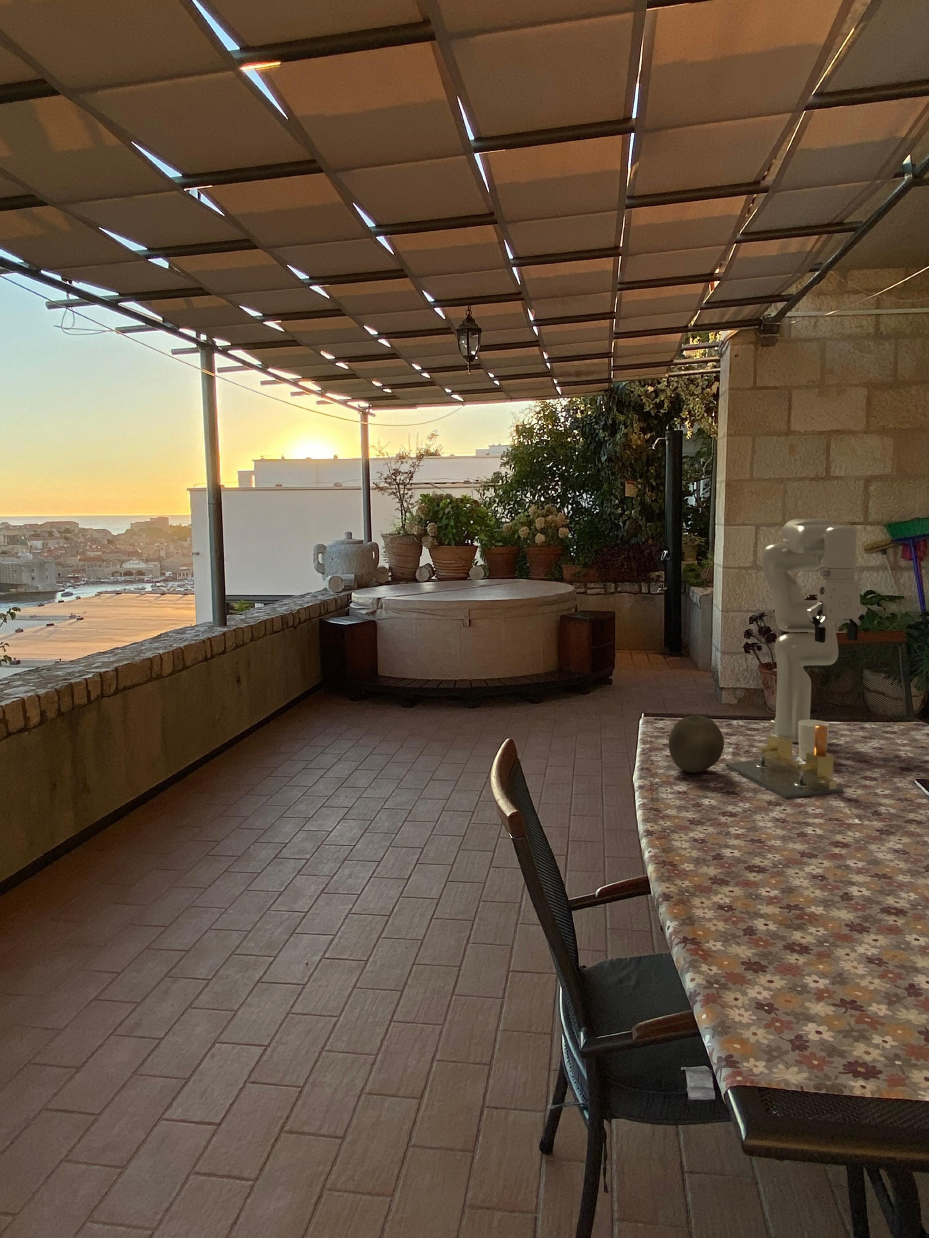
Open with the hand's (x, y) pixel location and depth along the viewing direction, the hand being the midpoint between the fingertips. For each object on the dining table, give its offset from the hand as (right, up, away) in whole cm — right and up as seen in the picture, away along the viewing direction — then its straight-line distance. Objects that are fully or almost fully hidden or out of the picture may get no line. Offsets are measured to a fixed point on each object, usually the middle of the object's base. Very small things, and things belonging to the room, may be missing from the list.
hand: (836, 640), depth 215 cm
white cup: (0, -33, +14) cm, 36 cm away
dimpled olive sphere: (-35, -35, +3) cm, 50 cm away
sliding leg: (-10, -34, -10) cm, 37 cm away
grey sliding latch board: (-15, -35, -3) cm, 38 cm away
